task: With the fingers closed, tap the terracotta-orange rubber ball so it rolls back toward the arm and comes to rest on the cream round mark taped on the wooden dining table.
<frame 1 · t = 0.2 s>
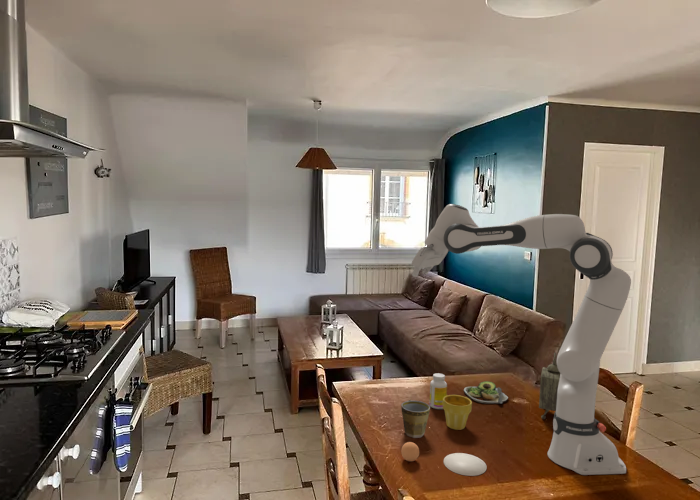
hand: (419, 274, 180), 54 cm above the table, tool tilted 30°, fingers open, 8 cm apart
plant pot: (456, 426, 175), on the table
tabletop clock: (551, 416, 187), on the table
ceramic cup: (413, 432, 169), on the table
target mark: (464, 464, 148), on the table
ball: (410, 451, 150), on the table
supplement bottle: (437, 406, 192), on the table
avocado toast plate: (485, 397, 206), on the table
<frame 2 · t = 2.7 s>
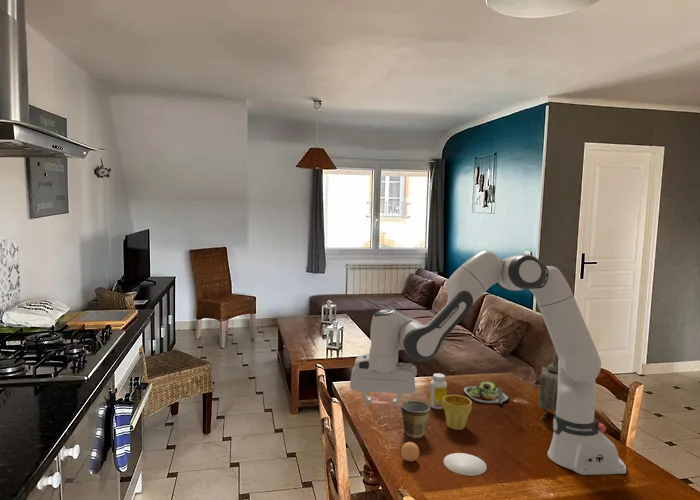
hand: (381, 404, 149), 17 cm above the table, tool pointing down, fingers open, 7 cm apart
nothing on the table moved.
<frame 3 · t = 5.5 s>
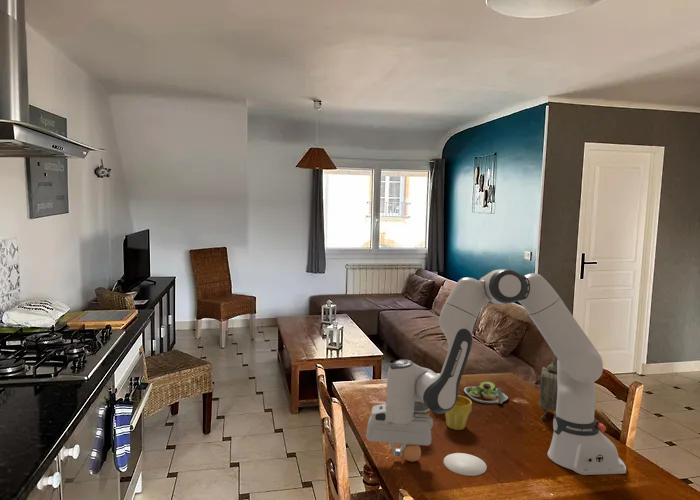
hand: (397, 455, 150), 1 cm above the table, tool pointing down, fingers closed
ball: (411, 451, 149), on the table, touching gripper
everything else where it was.
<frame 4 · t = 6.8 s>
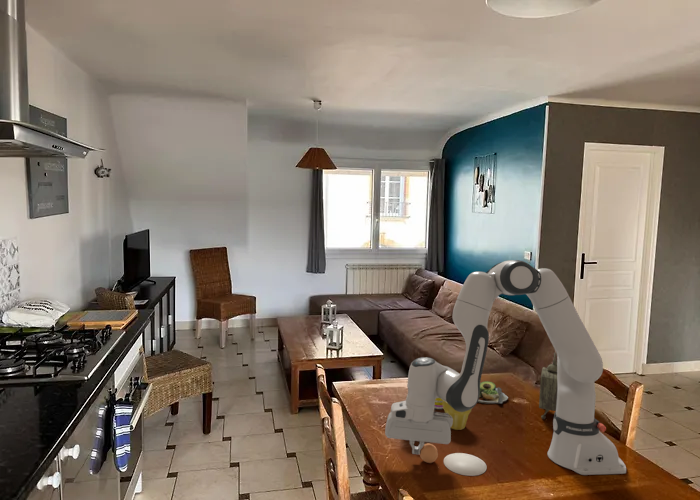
hand: (415, 453, 149), 2 cm above the table, tool pointing down, fingers closed
ball: (428, 453, 149), on the table, touching gripper
everything else where it was.
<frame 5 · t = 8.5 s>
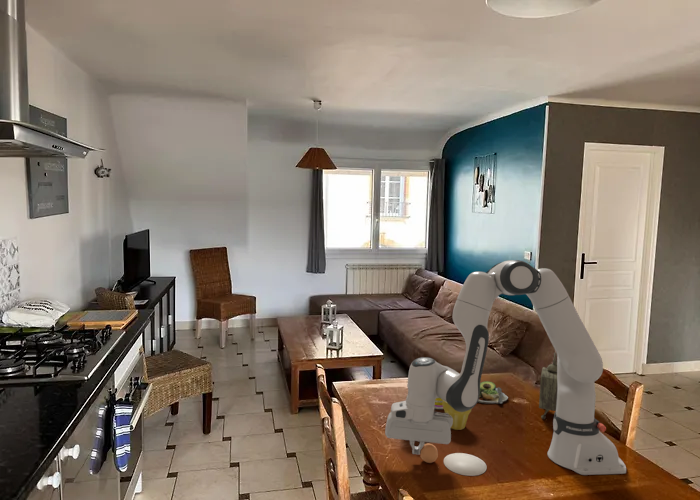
hand: (416, 453, 149), 2 cm above the table, tool pointing down, fingers closed
nothing on the table moved.
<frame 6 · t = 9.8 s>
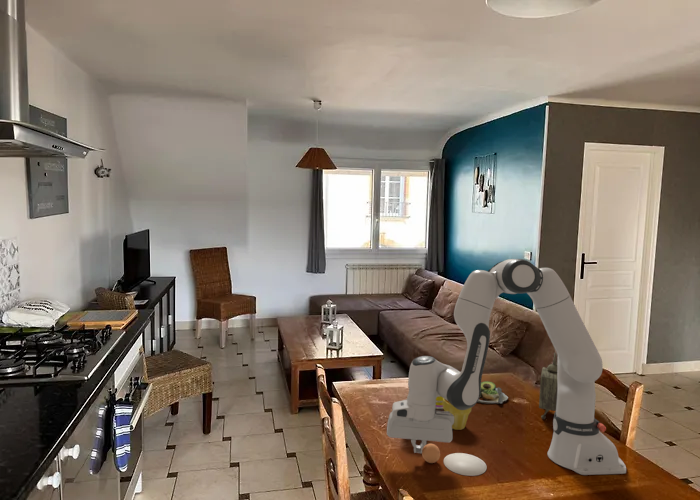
hand: (417, 452, 149), 3 cm above the table, tool pointing down, fingers closed
nothing on the table moved.
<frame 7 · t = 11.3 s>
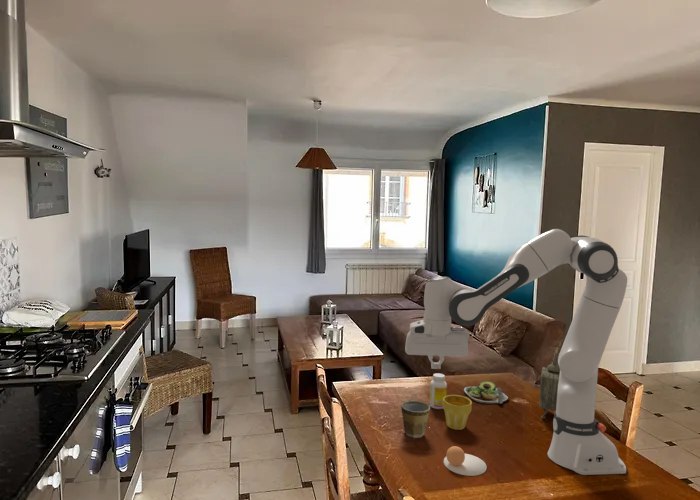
hand: (435, 368, 156), 27 cm above the table, tool pointing down, fingers closed
ball: (455, 455, 148), on the table
everything else where it was.
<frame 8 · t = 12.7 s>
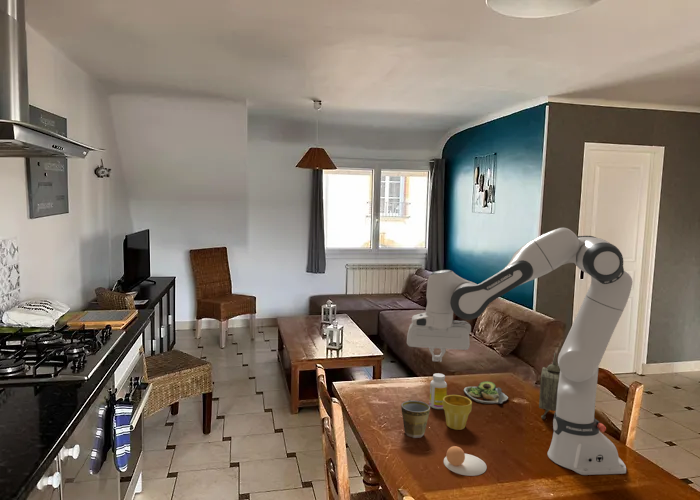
hand: (436, 361, 157), 29 cm above the table, tool pointing down, fingers closed
nothing on the table moved.
at the end: ball 3.1 cm from the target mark (horizontally); ball at rest at the end (0.0 cm/s); ball moved 13.9 cm from its start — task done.
